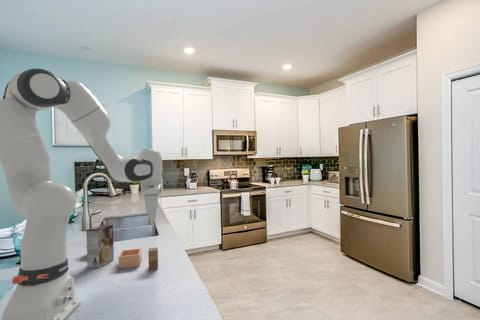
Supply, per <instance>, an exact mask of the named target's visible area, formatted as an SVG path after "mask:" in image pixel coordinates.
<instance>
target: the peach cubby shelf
mask: <svg viewBox="0 0 480 320" xmlns="http://www.w3.org/2000/svg"><path fill="white" fill-rule="evenodd" d="M142 256H143V253H142V248H132V249H122V250H121V252H120V253H119V255H118V269H130V268H136V267H140V266H141V263H142V259H143V258H142Z"/></svg>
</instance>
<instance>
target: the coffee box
mask: <svg viewBox="0 0 480 320" xmlns="http://www.w3.org/2000/svg"><path fill="white" fill-rule="evenodd" d="M85 232H86V236H85V237H86V244H87V248H86V260H87V262H86V266H87V267H88V268H101V267H103V266H105V265H106V264H109V263H110V262H112V261H114V260H115V255H114V253H115V252H114V250H115V249H114V248H115V247H114V225H113V224H100V225H97V226H93V227H91V228H88V229H86V231H85Z"/></svg>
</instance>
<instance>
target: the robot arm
mask: <svg viewBox="0 0 480 320" xmlns="http://www.w3.org/2000/svg"><path fill="white" fill-rule="evenodd" d="M49 108H56V109H57V110H59V111H61V112H62V113H63V114H64V115H65V116H66V117H67V119H68V120H69V121H70V122H71V123H72V125H73V126H74V127H75V128H76V129H77V130H78V131H79V133H80V134H81V135H82V136H83V139H85V141H86V143H87V144H88V145H89V147H90V148H91V150H92V151H93V152H94V153H95V155H96V156H97V157H98V159H99V160H100V161H101V163H102V165H103V167H104V170H105V174H106V176H107V178H108V179H109V180H110V181H113V182H114V183H138V182H140V193H142V196H144V197H143V198H144V205H145V212H146V214H147V216H148V215H149V216H148V217H149V218H148V219H149V224H150V225H154V224H155V223H156V217H157V216H156V215H157V213H158V204H159V197H160V196H161V193H162V192H164V179H163V176H162V174H163V159H162V154H161V153H160V152H159V151H158V150H156V149H150V148H149V149H148V148H147V149H142V150H141V151H140V152H139V153H138V154H136V155H133V156H131V157H127V158H126V157H122V156H120V155H119V154H118V153H117V152H116V151H115V148H113V147H112V145H111V144H110V142H109V141H108V138H107V137H108V136H107V134H108V132H109V130H110V129H111V123H112V121H111V118H110V116H109V114H108V112H107V111H106V109H105V108H104V106H103V105H102V104H101V102H100V101H99V100H98V99H97V97H96V96H95V95H94V94H93V93H92V92H91V91H90V90H89V89H88V88H87V87H86V86H84V84H82V83H81V82H80V81H77V80H68V81H67V80H64V79H62V78H61V77H59V76H58V75H56V74H55V73H53V72H51V71H49V70H46V69H44V68H30V69H26V70H24V71H22V72H20V73H17V74H15V76H13V78H11V80H10V81H9V82H7V84H6V86H5V89H4V93H3V96H2V98H0V165H1V167H2V170H3V173H4V175H5V181H6V184H7V188H8V192H9V195H10V198H11V203H12V206H13V207H14V209H15V210H16V211H17V212H18V213H19V214H21V215H24V216H25V217H26V220H25V221H26V222H25V226H24V227H25V228H24V232H23V235H22V238H21V239H20V247H19V248H20V267H19V269H18V273H17V275H14V276H13V277H12V280H11V281H12V282H11V283H12V285H16V284H17V285H16V287H15V288H14V290H13V291H12V292H13V293H12V294H11V296H10V297H9V300H8V302H7V304H6V305H5V308H4V310H3V312H2V315H1V320H66V319H67V318H68V317H69V316H70V315H71V314H72V313H73V312H74V311H75V310H76V309H77V308H78V307H79V306H80V305H81V299H79V298H76V292H75V291H76V289H75V280H74V278H73V276H71V275H70V273H69V259H68V257H67V230H68V226H69V221H70V218H71V213H72V212H74V209H75V208H76V205H77V196H76V193H75V192H74V190H72V189H71V188H69V187H68V186H67V185H65V184H63V183H60V182H59V183H58V182H54V181H53V180H52V175H51V170H50V161H51V158H50V155H49V153H48V149H47V147H46V145H45V142H44V139H43V137H42V135H41V132H40V130H39V128H38V126H37V124H36V123H37V122H36V114H37V112H39V111H44V110H47V109H49Z"/></svg>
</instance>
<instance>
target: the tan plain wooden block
mask: <svg viewBox="0 0 480 320" xmlns="http://www.w3.org/2000/svg"><path fill="white" fill-rule="evenodd" d="M147 254H148V271H155V270H156V271H157V270H159V248H158V247H150V248H148V253H147Z"/></svg>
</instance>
